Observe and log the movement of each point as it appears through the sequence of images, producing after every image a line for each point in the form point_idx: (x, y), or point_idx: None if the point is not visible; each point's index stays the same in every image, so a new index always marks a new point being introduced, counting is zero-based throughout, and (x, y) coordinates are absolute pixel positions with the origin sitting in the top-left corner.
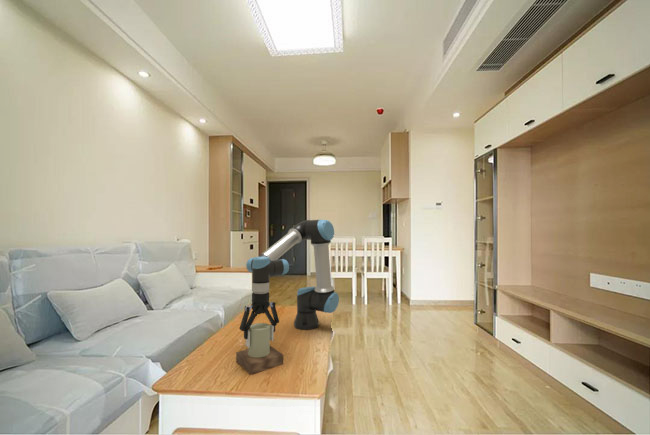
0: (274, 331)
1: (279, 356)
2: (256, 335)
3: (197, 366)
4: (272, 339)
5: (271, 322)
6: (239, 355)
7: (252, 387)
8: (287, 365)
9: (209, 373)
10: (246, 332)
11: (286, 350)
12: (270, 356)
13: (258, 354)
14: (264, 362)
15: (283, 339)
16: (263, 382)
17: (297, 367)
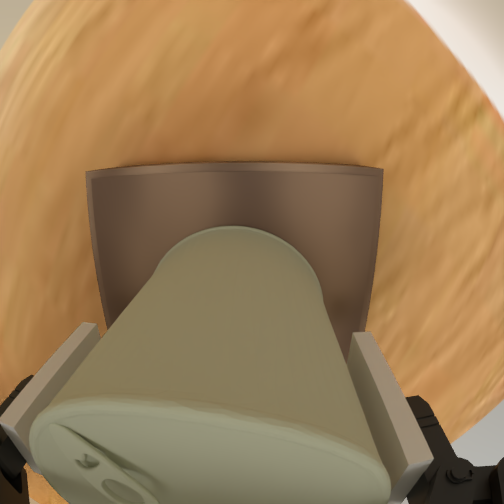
0: (30, 379)
1: (120, 168)
2: (333, 374)
3: (460, 400)
4: (86, 330)
5: (15, 480)
6: None
7: (403, 40)
8: (107, 132)
9: (475, 323)
10: (437, 458)
11: (48, 313)
12: (184, 194)
13: (281, 247)
14: (259, 162)
15: None
16: (335, 36)
17: (80, 79)
